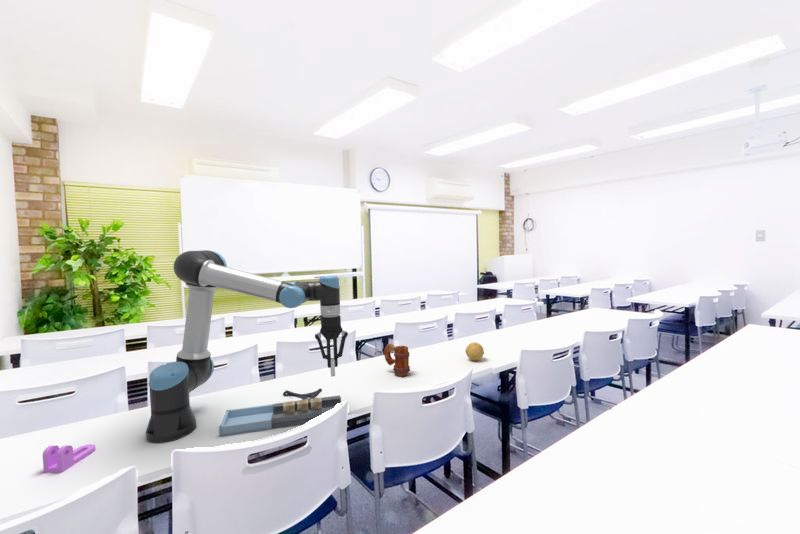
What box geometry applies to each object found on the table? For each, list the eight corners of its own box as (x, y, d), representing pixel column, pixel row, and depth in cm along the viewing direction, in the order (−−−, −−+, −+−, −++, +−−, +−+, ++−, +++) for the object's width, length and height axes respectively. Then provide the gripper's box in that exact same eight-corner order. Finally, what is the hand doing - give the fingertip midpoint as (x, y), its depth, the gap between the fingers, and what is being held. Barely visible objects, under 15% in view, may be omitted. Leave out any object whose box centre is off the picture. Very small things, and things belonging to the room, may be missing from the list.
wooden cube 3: (311, 413, 138) (310, 402, 138) (310, 408, 142) (310, 398, 142) (321, 411, 139) (321, 401, 139) (321, 407, 143) (320, 397, 143)
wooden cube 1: (283, 416, 135) (283, 406, 135) (283, 412, 139) (283, 402, 139) (294, 415, 137) (294, 405, 136) (294, 410, 140) (294, 400, 140)
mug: (414, 373, 183) (413, 344, 183) (405, 378, 177) (405, 348, 176) (390, 369, 191) (389, 341, 190) (381, 373, 184) (380, 344, 184)
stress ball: (470, 358, 210) (459, 349, 206) (481, 345, 210) (470, 336, 206) (479, 366, 200) (467, 357, 197) (490, 353, 201) (479, 343, 197)
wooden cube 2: (297, 415, 137) (297, 404, 137) (297, 410, 141) (297, 400, 140) (308, 413, 138) (308, 403, 138) (308, 409, 142) (307, 399, 142)
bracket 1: (62, 472, 106) (60, 449, 106) (43, 473, 106) (42, 449, 106) (100, 448, 119) (98, 427, 119) (83, 448, 119) (82, 427, 119)
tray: (219, 436, 125) (219, 427, 125) (226, 418, 138) (226, 410, 138) (271, 428, 130) (271, 420, 129) (273, 412, 143) (273, 404, 143)
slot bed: (271, 428, 130) (271, 419, 129) (273, 412, 143) (273, 403, 143) (344, 418, 137) (344, 409, 137) (340, 403, 150) (339, 394, 150)
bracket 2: (291, 390, 167) (291, 384, 166) (322, 391, 164) (321, 385, 164) (275, 403, 152) (275, 397, 152) (308, 405, 150) (308, 399, 150)
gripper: (313, 318, 135) (316, 380, 136) (348, 315, 139) (351, 376, 140) (312, 315, 142) (315, 374, 144) (346, 312, 146) (348, 370, 147)
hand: (332, 375), depth 142 cm, fingers closed
